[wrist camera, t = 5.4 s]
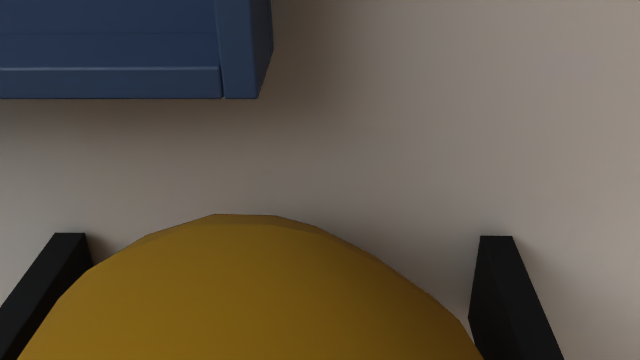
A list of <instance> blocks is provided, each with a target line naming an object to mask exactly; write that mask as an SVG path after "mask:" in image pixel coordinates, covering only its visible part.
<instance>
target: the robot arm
mask: <svg viewBox="0 0 640 360" xmlns="http://www.w3.org/2000/svg"><path fill="white" fill-rule="evenodd" d="M92 267H94V265H93V262H92V258H91V254H90V251H89V247H88V244H87V240H86V236H85V233H55V234H54V235H53V236H52V238H51V239H50V240H49V242H48V243H47V244H46V246H45V247H44V249H43V250H42V251H41V253H40V254H39V255H38V257H37V258H36V259H35V261H34V262H33V264H32V265H31V266H30V268H29V269H28V270H27V272H26V273H25V274H24V276H23V277H22V279H21V280H20V281H19V283H18V284H17V285H16V287H15V288H14V289H13V291H12V292H11V294H10V295H9V296H8V298H7V299H6V300H5V302H4V303H3V304H2V306H1V307H0V360H17V359H18V357H19V356H20V354H21V353H22V351H23V350H24V348H25V347H26V345H27V344H28V343H29V341H30V340H31V338H32V337H33V335H34V334H35V332H36V331H37V329H38V328H39V327H40V325H41V324H42V322H43V321H44V319H45V318H46V316H47V315H48V313H49V312H50V310H51V309H52V308H53V306H54V305H55V303H56V302H57V300H58V299H59V298H60V297H61V296H62V295H63V294H64V293H65V292H66V291H67V290H68V289H69V288H70V287H71V286H72V285H73V284H74V283H75V282H76V281H77V280H78V279H79V278H80V277H81V276H82V275H83V274H84V273H85V272H86V271H87V270H89V269H91V268H92ZM468 320H469V324H470V328H471V332H472V335H473V339H474V343H475V346H476V347H477V349H478V351H479V352H480V354H481V355H482V357H483V359H484V360H564V358H563V355H562V353H561V350H560V348H559V346H558V343H557V341H556V339H555V336H554V334H553V332H552V329H551V327H550V325H549V322H548V320H547V318H546V315H545V313H544V311H543V308H542V306H541V303H540V301H539V299H538V296H537V294H536V292H535V289H534V287H533V285H532V282H531V280H530V278H529V275H528V273H527V271H526V268H525V266H524V264H523V261H522V259H521V256H520V254H519V252H518V249H517V247H516V245H515V242H514V240H513V238H512V236H481V237H480V243H479V249H478V256H477V262H476V269H475V275H474V281H473V288H472V294H471V301H470V307H469V313H468Z"/></svg>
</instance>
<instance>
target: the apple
mask: <svg viewBox="0 0 640 360" xmlns="http://www.w3.org/2000/svg"><path fill="white" fill-rule="evenodd" d="M17 360H484V359H483V357H482V355H481V354H480V352H479V351H478V349H477V347H476V346H475V344H474V343H473V341H472V340H471V338H470V336H469V335H468V333H467V332H466V330H465V328H464V327H463V325H462V324H461V322H460V320H458V319H457V318H456V317H455V316H454V315H453V314H452V313H450V312H449V311H448V310H447V309H446V308H445V307H444V306H442V305H441V304H440V303H439V302H438V301H437V300H435V299H434V298H433V297H432V296H431V295H430V294H428V293H427V292H425V291H424V290H422V289H421V288H419V287H418V286H417V285H415V284H414V283H412V282H411V281H409V280H408V279H407V278H405V277H404V276H402V275H401V274H399V273H398V272H396V271H395V270H394V269H392V268H391V267H389V266H388V265H386V264H385V263H384V262H382V261H381V260H379V259H378V258H376V257H375V256H373V255H372V254H371V253H369V252H367V251H364V250H362V249H360V248H358V247H356V246H354V245H352V244H350V243H348V242H346V241H344V240H342V239H340V238H338V237H336V236H334V235H332V234H330V233H328V232H326V231H324V230H322V229H320V228H318V227H316V226H313V225H309V224H305V223H301V222H298V221H294V220H290V219H286V218H282V217H279V216H272V215H235V214H213V215H210V216H206V217H203V218H200V219H197V220H193V221H190V222H187V223H184V224H181V225H177V226H174V227H171V228H168V229H164V230H161V231H158V232H155V233H152V234H148V235H146V236H144V237H142V238H141V239H139V240H137V241H136V242H134V243H132V244H131V245H129V246H127V247H126V248H124V249H122V250H121V251H119V252H117V253H116V254H114V255H112V256H111V257H109V258H107V259H106V260H104V261H102V262H101V263H99V264H97V265H96V266H94V267H92V268H91V269H89V270H87V271H86V272H85V273H84V274H83V275H82V276H81V277H80V278H79V279H78V280H77V281H76V282H75V283H74V284H73V285H72V286H71V287H70V288H69V289H68V290H67V291H66V292H65V293H64V294H63V295H62V296H61V297H60V298H59V299H58V300H57V302H56V303H55V305H54V306H53V308H52V309H51V310H50V312H49V313H48V315H47V316H46V318H45V319H44V321H43V322H42V324H41V325H40V327H39V328H38V329H37V331H36V332H35V334H34V335H33V337H32V338H31V340H30V341H29V343H28V344H27V345H26V347H25V348H24V350H23V351H22V353H21V354H20V356H19V357H18V359H17Z"/></svg>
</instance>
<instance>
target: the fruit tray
mask: <svg viewBox="0 0 640 360" xmlns="http://www.w3.org/2000/svg"><path fill="white" fill-rule="evenodd" d="M273 50H274V46H273V29H272V12H271V0H0V99H221V98H223V97H225V99H257V98H258V96H259V94H260V90H261V87H262V84H263V81H264V78H265V75H266V72H267V69H268V66H269V63H270V60H271V56H272V53H273Z"/></svg>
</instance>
